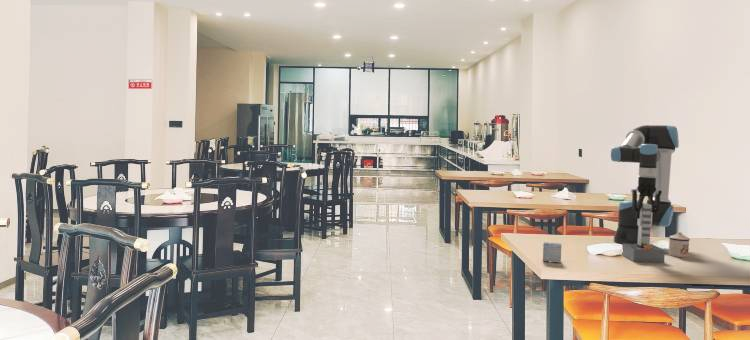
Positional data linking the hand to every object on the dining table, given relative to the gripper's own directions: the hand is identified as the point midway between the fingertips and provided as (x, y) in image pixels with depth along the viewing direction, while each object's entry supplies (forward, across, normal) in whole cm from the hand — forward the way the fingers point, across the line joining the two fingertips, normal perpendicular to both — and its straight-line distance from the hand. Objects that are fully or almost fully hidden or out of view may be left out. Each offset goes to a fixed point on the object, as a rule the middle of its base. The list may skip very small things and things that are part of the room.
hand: (644, 225), depth 279 cm
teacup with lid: (+16, +23, +12) cm, 31 cm away
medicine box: (+16, -46, -12) cm, 50 cm away
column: (+10, 0, 0) cm, 10 cm away
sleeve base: (+16, 0, 0) cm, 16 cm away
